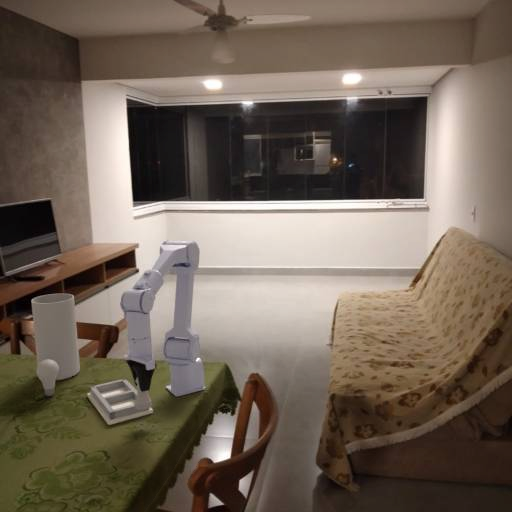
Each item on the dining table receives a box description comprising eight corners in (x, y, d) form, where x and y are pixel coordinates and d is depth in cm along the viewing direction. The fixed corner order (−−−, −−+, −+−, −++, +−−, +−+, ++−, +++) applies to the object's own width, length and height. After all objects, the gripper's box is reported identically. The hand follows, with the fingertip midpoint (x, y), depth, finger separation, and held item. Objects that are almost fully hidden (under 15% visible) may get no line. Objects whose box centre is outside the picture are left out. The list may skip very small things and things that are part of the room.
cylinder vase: (72, 381, 164) (65, 303, 160) (32, 382, 164) (24, 303, 160) (85, 366, 176) (79, 293, 172) (48, 366, 177) (41, 293, 172)
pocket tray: (128, 386, 159) (127, 377, 159) (153, 412, 142) (152, 402, 141) (87, 396, 153) (86, 386, 152) (108, 425, 136) (107, 414, 135)
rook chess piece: (136, 403, 137) (135, 373, 136) (153, 403, 137) (152, 373, 136) (132, 410, 133) (130, 380, 132) (149, 410, 133) (148, 380, 131)
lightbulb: (53, 401, 150) (50, 364, 148) (34, 399, 152) (30, 363, 150) (65, 392, 156) (62, 356, 154) (46, 390, 157) (43, 355, 156)
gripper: (114, 331, 136) (118, 381, 138) (133, 347, 124) (137, 402, 126) (141, 327, 140) (144, 375, 142) (161, 341, 127) (164, 394, 130)
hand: (142, 387), depth 134 cm, fingers closed on rook chess piece, 3 cm apart
